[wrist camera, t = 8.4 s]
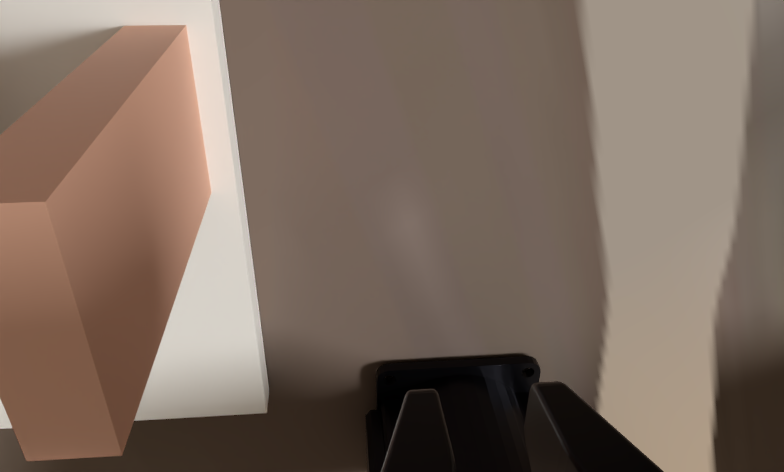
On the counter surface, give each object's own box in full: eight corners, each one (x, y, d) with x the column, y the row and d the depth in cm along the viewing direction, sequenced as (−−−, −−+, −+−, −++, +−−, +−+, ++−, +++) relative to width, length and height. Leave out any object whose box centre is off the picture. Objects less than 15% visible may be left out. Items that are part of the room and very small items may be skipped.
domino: (185, 24, 17) (45, 201, 9) (211, 192, 20) (122, 456, 11) (124, 25, 17) (-80, 205, 9) (158, 194, 20) (25, 461, 11)
